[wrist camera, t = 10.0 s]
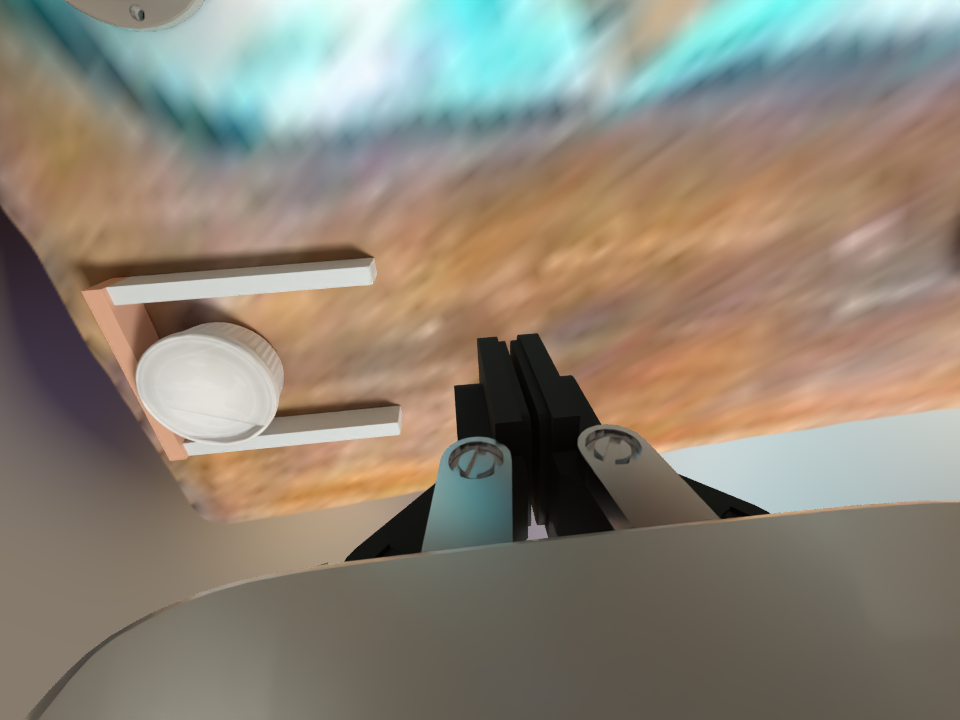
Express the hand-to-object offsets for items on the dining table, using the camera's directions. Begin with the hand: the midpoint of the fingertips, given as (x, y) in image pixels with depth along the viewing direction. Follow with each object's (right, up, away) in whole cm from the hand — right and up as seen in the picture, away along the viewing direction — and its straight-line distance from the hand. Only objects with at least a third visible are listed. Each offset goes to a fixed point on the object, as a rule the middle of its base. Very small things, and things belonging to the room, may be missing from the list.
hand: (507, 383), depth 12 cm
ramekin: (-24, 0, +28) cm, 38 cm away
